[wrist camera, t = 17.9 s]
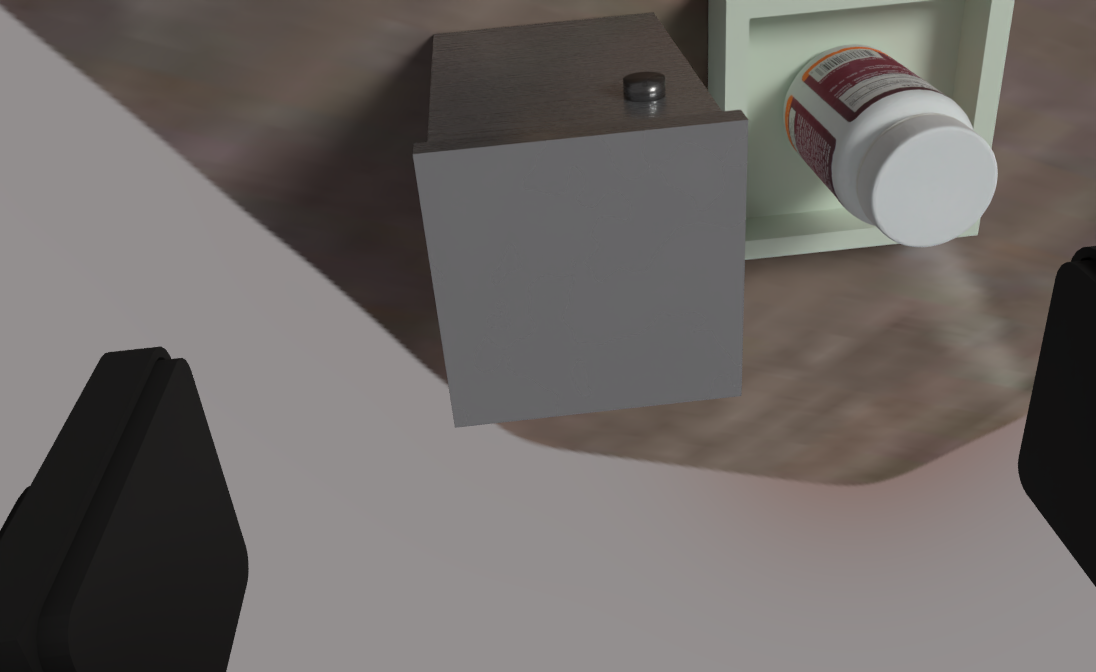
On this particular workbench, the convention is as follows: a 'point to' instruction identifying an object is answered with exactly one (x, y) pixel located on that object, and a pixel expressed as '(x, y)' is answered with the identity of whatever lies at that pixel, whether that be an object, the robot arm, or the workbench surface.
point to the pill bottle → (889, 145)
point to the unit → (581, 221)
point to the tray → (793, 41)
